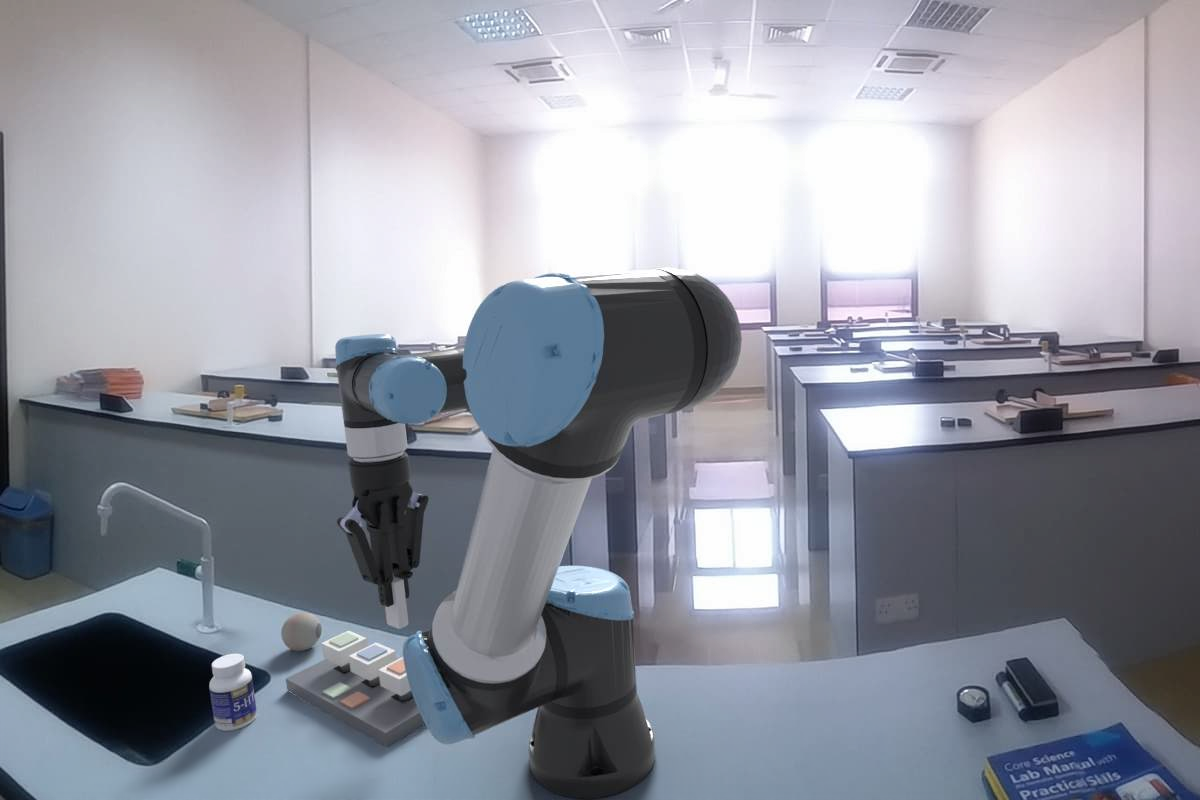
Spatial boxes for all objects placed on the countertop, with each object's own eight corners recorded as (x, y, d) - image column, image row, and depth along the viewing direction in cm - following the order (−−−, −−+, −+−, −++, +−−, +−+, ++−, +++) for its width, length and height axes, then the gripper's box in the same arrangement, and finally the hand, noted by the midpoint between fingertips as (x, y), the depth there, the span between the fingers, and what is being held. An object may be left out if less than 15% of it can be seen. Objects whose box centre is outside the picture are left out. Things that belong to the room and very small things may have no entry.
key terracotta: (430, 693, 106) (426, 662, 105) (402, 709, 102) (399, 677, 101) (409, 684, 108) (405, 653, 108) (382, 699, 105) (378, 668, 104)
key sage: (369, 665, 114) (366, 636, 114) (342, 679, 111) (338, 649, 110) (352, 657, 117) (348, 628, 116) (325, 670, 114) (321, 641, 113)
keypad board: (459, 702, 106) (457, 687, 106) (387, 747, 97) (385, 730, 97) (358, 655, 121) (356, 642, 121) (287, 691, 112) (285, 676, 112)
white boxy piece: (398, 679, 110) (395, 649, 109) (371, 694, 106) (367, 663, 106) (379, 670, 113) (376, 640, 112) (352, 684, 109) (348, 654, 109)
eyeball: (315, 656, 122) (310, 621, 121) (277, 658, 122) (272, 623, 121) (329, 638, 128) (324, 605, 127) (292, 640, 128) (288, 607, 127)
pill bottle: (241, 733, 102) (231, 671, 101) (206, 730, 103) (196, 670, 102) (265, 710, 107) (256, 651, 106) (232, 708, 109) (223, 650, 107)
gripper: (401, 441, 107) (419, 600, 111) (316, 463, 97) (339, 637, 101) (436, 446, 102) (453, 612, 106) (351, 470, 92) (373, 652, 96)
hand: (397, 624), depth 103 cm, fingers closed
